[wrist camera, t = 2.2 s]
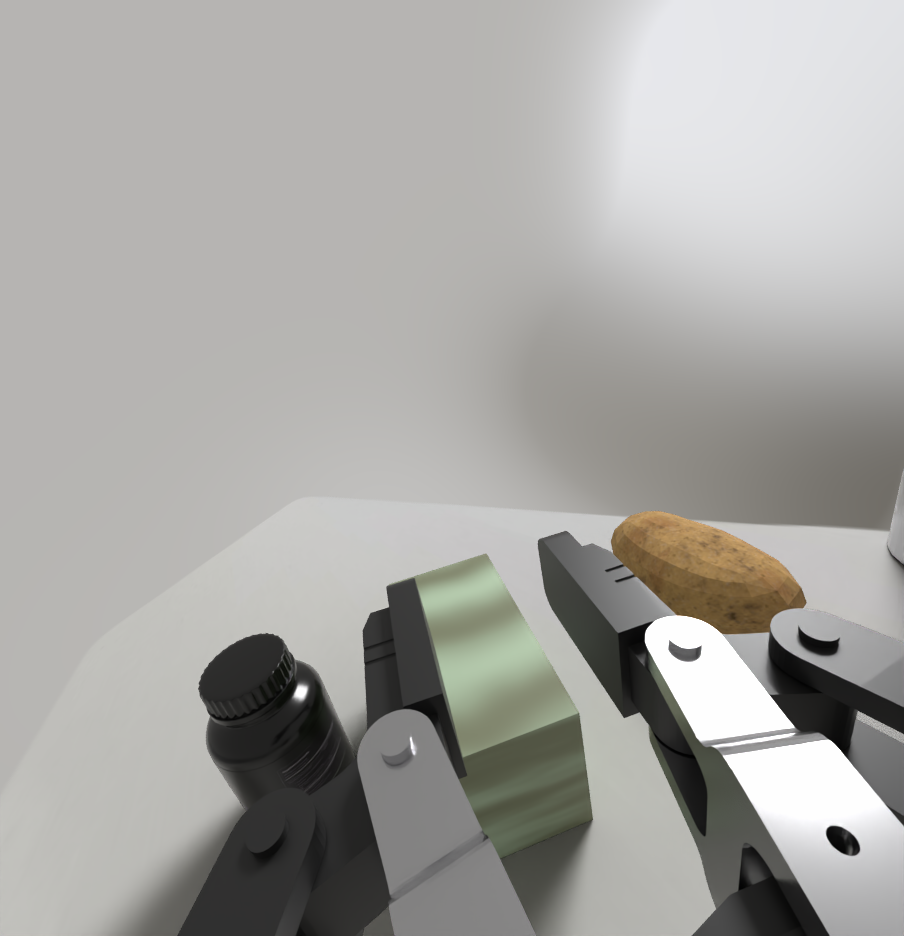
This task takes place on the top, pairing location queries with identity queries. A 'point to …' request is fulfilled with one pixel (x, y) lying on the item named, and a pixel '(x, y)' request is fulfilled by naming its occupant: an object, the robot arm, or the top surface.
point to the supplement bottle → (270, 721)
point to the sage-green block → (505, 709)
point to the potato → (706, 572)
